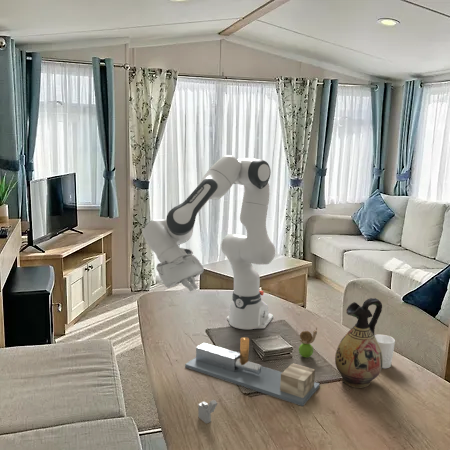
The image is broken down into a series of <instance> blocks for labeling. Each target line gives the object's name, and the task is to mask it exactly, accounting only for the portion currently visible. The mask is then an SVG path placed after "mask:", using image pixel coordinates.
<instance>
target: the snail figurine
mask: <svg viewBox="0 0 450 450" xmlns="http://www.w3.org/2000/svg"><path fill="white" fill-rule="evenodd" d="M317 330H318V327H315V330H314V331H313V332H311V331H308V330H303V331H301V332H300V334H299V338H300V339H299V342H300V343H301V344H300V345H299V347H298V353H299V355H300V356H301V357H302V358H306V359H308V358H311V356H313V354H314V347H313V346H312V345H311V344H312V343H313V342H314V341H315V340H316V337H317V333H318V331H317Z"/></svg>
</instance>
